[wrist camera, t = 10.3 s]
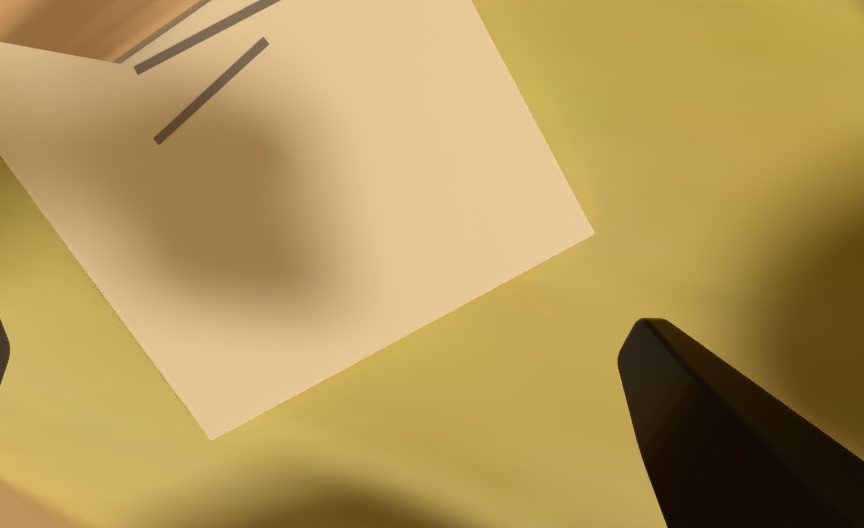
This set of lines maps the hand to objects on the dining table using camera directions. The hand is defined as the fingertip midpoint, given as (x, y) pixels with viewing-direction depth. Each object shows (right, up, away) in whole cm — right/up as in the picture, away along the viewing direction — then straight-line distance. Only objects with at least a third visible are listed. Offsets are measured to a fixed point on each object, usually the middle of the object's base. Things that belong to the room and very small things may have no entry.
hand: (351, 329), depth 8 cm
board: (-6, +8, +8) cm, 13 cm away
